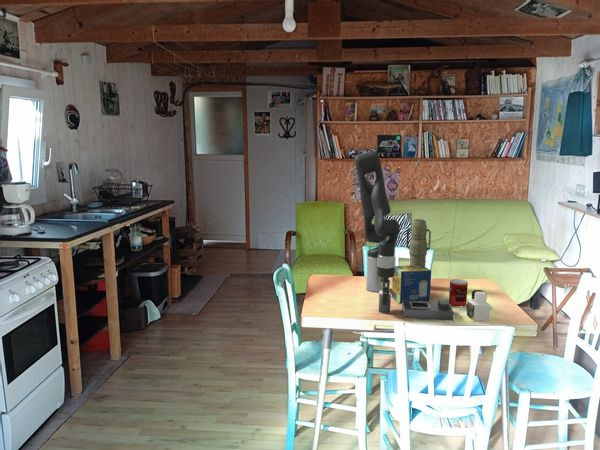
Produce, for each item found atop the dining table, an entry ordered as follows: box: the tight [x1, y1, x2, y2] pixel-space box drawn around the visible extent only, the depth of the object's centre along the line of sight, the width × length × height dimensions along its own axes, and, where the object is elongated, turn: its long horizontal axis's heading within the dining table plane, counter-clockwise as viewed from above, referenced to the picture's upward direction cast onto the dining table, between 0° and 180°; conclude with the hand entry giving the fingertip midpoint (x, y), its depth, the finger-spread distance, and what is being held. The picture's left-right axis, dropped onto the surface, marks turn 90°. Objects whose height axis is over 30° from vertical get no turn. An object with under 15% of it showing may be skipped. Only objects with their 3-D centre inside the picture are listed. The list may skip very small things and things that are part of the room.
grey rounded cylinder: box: [378, 288, 392, 315], centre depth 225 cm, size 5×5×10 cm
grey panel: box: [401, 299, 454, 322], centre depth 222 cm, size 14×20×6 cm
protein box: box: [391, 264, 432, 305], centre depth 243 cm, size 10×15×16 cm
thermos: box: [406, 218, 432, 267], centre depth 263 cm, size 9×12×35 cm
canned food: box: [448, 278, 469, 307], centre depth 237 cm, size 8×8×11 cm
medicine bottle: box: [466, 289, 491, 322], centre depth 218 cm, size 7×7×12 cm
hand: (384, 301), depth 225 cm, fingers open, 7 cm apart
